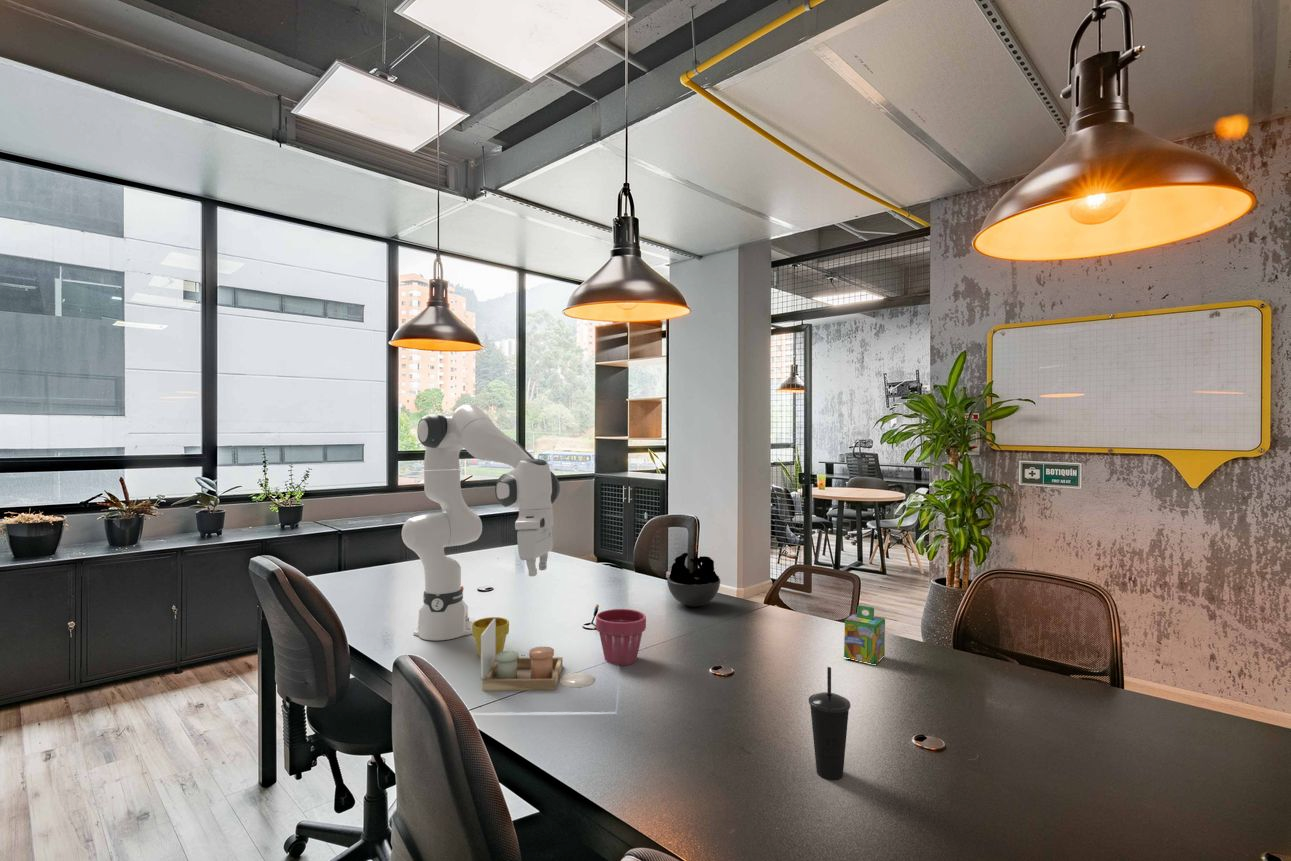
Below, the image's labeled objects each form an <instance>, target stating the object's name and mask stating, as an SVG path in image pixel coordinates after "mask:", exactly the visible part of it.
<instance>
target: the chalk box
mask: <svg viewBox="0 0 1291 861" xmlns="http://www.w3.org/2000/svg"><path fill="white" fill-rule="evenodd" d="M864 611H867V612H868V614H866V613H863V612H864ZM843 634H844V639H843V640H844V642H843V644H844V646H843V658H844V657H846V658H850V659H854V660H858V661H862V662H867V663H871V664H877V663H878V662H879V660H880V659H881V658H882V657H883V656H884V657H885V653H886V652H885V651H886V650H885V647H886V646H885V645H886V643H885V642H886V639H885V638H886V619H885V618H884V617H880V616H875V607H872V606H867V605H857V610H856V612H854V613H852V614H851V615H849V616H848V617H846V618H845V619H844V633H843ZM879 663H880V662H879ZM879 663H878V664H879ZM878 664H877V665H878Z"/></svg>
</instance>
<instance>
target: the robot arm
mask: <svg viewBox="0 0 1291 861" xmlns="http://www.w3.org/2000/svg"><path fill="white" fill-rule="evenodd" d="M416 430H417V432H416V433H417V438H418V440H419V442H420V443H421V445H422V446H424V447H425V453H424V461H423V462H424V463H423V482H424V483H423V486H424V494H425V496H426V497H427V498H428V499H429V500H430V501H433V502H435V503H437V504H439V506H440V508H441V512H439V513H438V512H437V513H429V514H428V513H427V514H426V513H425V514H421V515H415V516H413V517H409V518H408V519H406V520H405V522H404V523H403V525H402V529H401V538H402V541H403V543H404V545H405V546H406V547H407V548H408V549H410V550H411V551H413V552H414V553H415V554H416V555H417V556H418V557H419V559H420V561H421V564H422V567H423V571H424V590H423V594H422V595H423V596H422V597H423V598H422V599H423V601H422V602H423V605H422V606H421V607H419V610H418V622H417V628H416V629H415V630H413V633H412V634H413V635H414V636H417V637H419V638H420V639H423V640H424V641H445V640H446V641H448V640H453V639H457V638H461V637H463V636H470V635H473V634H472V624H473V622H475V621H476V619H475V618H474V617H471V616H470V617H469V606H468V605H467V604H466V602H465V601H464V588H465V587H464V586H463V585H462V566H461V565H460V562H458V561H457V560H456V559H455V558H451V557H449V556H446V553H445V548H447V547H456V546H463V545H466V544H470V543H473V542H476V541H477V540H479V538H480V536H481V535H482V532H483V523H482V519H481V517H480V516H479V515H478V514H477V513H476V512H474V511H473V510H472V509H471V508H470V507H469V506H468V505H467V502H466V501H465V500H464V497H463V494H462V489H461V488H462V486H461V474H460V473H461V471H460V470H461V469H460V453H461V452H462V450H463V449H465V451H466V452H467V453H468V455H469V454H470V455H471V456H472V457H473V458H475V459H478V460H482V461H486V462H487V461H488V462H494V463H501V464H505V465H508V466H509V467H510V466H511V467H512V468H513V469H512V470H510V471H508V472H506V473H504V474H502V475H501V476H499V477H498V479H497V481H496V482H495V486H494V487H495V488H494V490H495V492H494V493H495V497H496V500H497V502H499V504H500V505H501V506H502V507H505V508H518V517H517V519H516V520H515V522H514V528H515V529H514V530H516V531H517V535H516V539H517V549H518V556H519V559H520V561H525V562H526V566H527V569H528V576H529V577H535V576H537V575H538V570H539V571H545V570H547V568H548V567H547V566H548V564H547V563H548V558H549V552H552V551H553V548H554V540H553V539H554V537H553V536H554V535H553V526H554V510H553V509H554V508H553V503H554V502H555V501H556V500H557V498H558V497H559V495H560V492H561V485H560V482H559V479H558V477H557V476H556V475H555V473H554V472H552V471H551V469H550V465H549V463H548V461H546V460H544V459H541V458H540V459H539V458H534V456H532V455H531V453H530V452H529V451H528V450H526V448H524V447H523V445H521V444H520V443H518V442H517V441H516V440H514V439H512V438H511V437H510V436H508V435H507V434H505V433H504V432H503V431H502V430H501V429H500V428H498V427H497V426H496V425H495V423H494V422H493V421H492V419H491V418H490V417H489V416H488V415H487V414H486V413H485V411H483V410H482V409H481V408H479V407H478V406H476V405H474V404H470V403H469V404H463V405H461V406H458V408H456V409H455V411H454V412H453V413H440V414H438V413H432V414H431V413H430V414H427V415H423V416H422V417H421V419H420V420H419V421H418V424H417V429H416ZM538 558H539V563H538V568H537V565H536V562H537V559H538Z"/></svg>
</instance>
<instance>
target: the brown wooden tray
mask: <svg viewBox="0 0 1291 861" xmlns="http://www.w3.org/2000/svg"><path fill="white" fill-rule="evenodd" d="M562 668H563V656H561V657H560V656H556V657H555V656H553V657H552V678H551V679H531V658H530V657H529V656H527V657H519V658H518V660H517V678H516V679H497V661H495V663H494V664H493V666H492V668H491V669H490V671H489V672H488V674H487V676H486V677H485V679H483V681H482V691H483V692H484V691H488V692H489V691H492V692H493V691H555V690H556V688H557V684H558V682H559V680H560V675H561V671H562Z"/></svg>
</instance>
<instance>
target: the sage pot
mask: <svg viewBox="0 0 1291 861" xmlns="http://www.w3.org/2000/svg"><path fill="white" fill-rule="evenodd" d="M519 654H520V653H519V652H518V651H515V650H503V652H500V653H498V654H496V661H497V679H516V678H517V660H518V658H520V657H519Z"/></svg>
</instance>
